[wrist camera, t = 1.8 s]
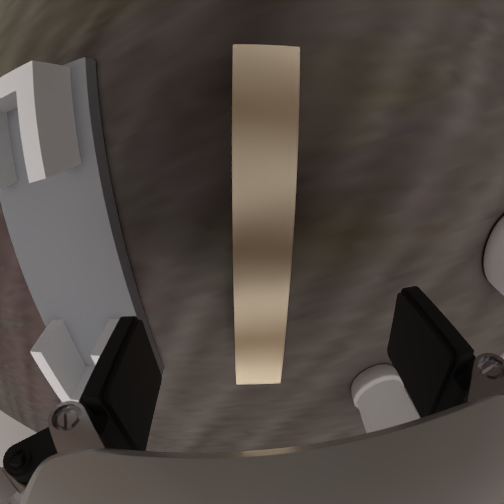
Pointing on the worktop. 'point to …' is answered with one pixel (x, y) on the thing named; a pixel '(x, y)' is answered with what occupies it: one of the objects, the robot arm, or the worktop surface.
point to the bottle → (382, 398)
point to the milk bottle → (495, 257)
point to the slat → (263, 203)
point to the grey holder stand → (64, 217)
